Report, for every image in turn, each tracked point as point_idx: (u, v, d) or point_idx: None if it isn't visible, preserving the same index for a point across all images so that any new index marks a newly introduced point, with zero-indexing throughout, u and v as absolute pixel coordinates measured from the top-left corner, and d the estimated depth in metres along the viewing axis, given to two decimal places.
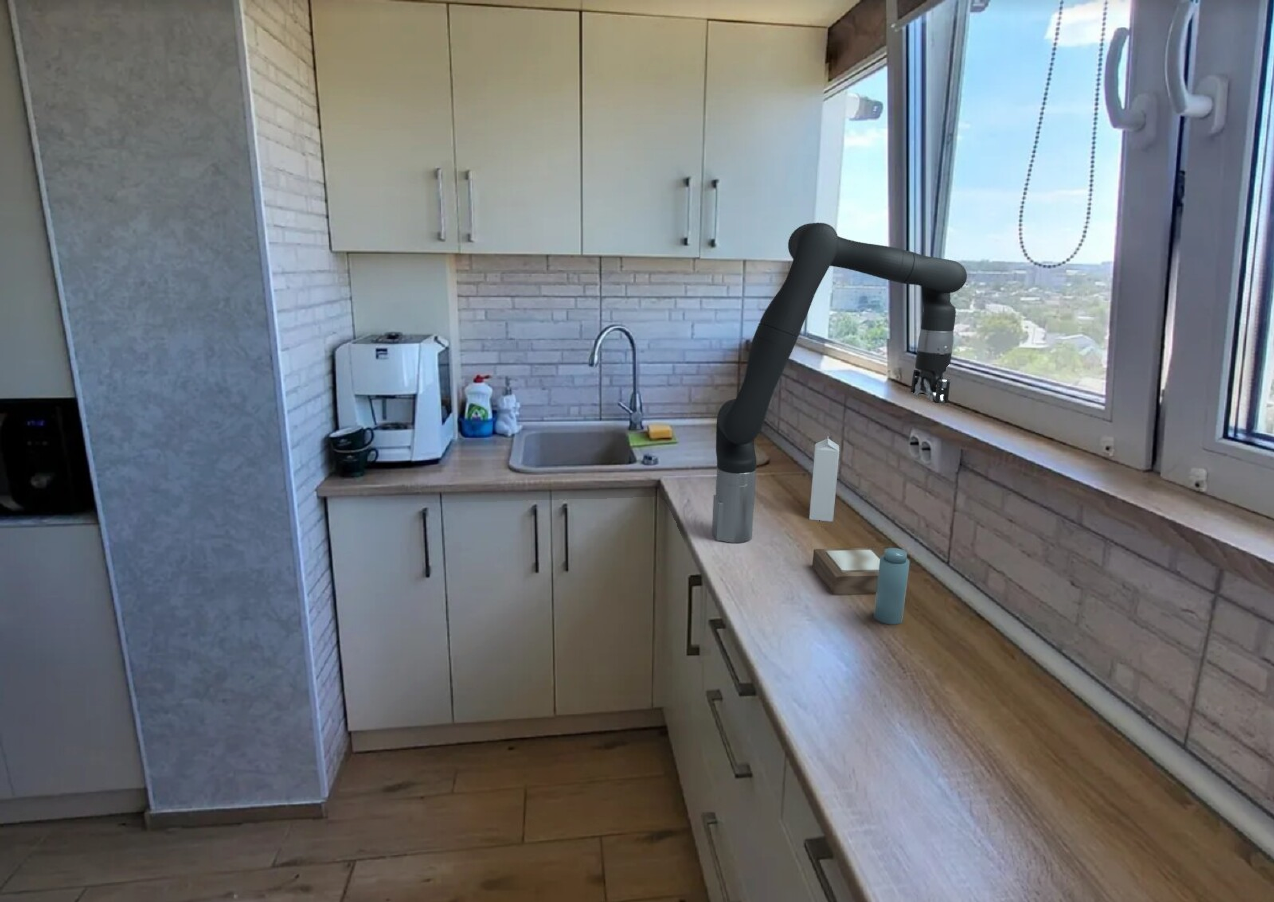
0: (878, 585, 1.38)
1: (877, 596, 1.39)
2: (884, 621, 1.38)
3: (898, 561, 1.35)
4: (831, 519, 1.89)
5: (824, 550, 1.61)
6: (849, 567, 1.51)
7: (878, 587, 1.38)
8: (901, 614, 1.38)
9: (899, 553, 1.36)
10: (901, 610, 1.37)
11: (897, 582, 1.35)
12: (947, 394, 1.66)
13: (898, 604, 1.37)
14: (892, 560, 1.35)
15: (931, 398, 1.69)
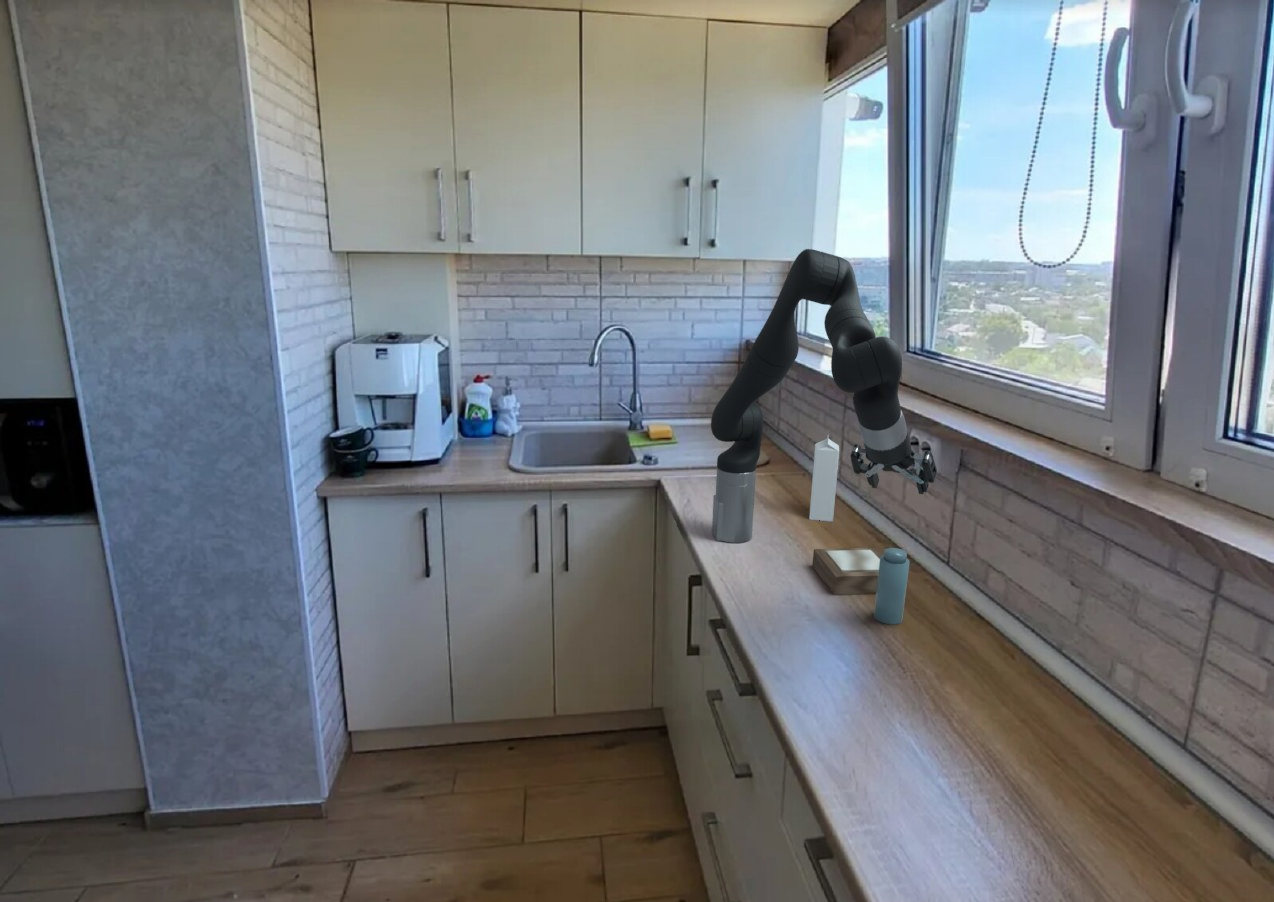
0: (878, 585, 1.38)
1: (877, 596, 1.39)
2: (884, 621, 1.38)
3: (898, 561, 1.35)
4: (831, 519, 1.89)
5: (824, 550, 1.61)
6: (849, 567, 1.51)
7: (878, 587, 1.38)
8: (901, 614, 1.38)
9: (899, 553, 1.36)
10: (901, 610, 1.37)
11: (897, 582, 1.35)
12: None
13: (898, 604, 1.37)
14: (892, 560, 1.35)
15: None
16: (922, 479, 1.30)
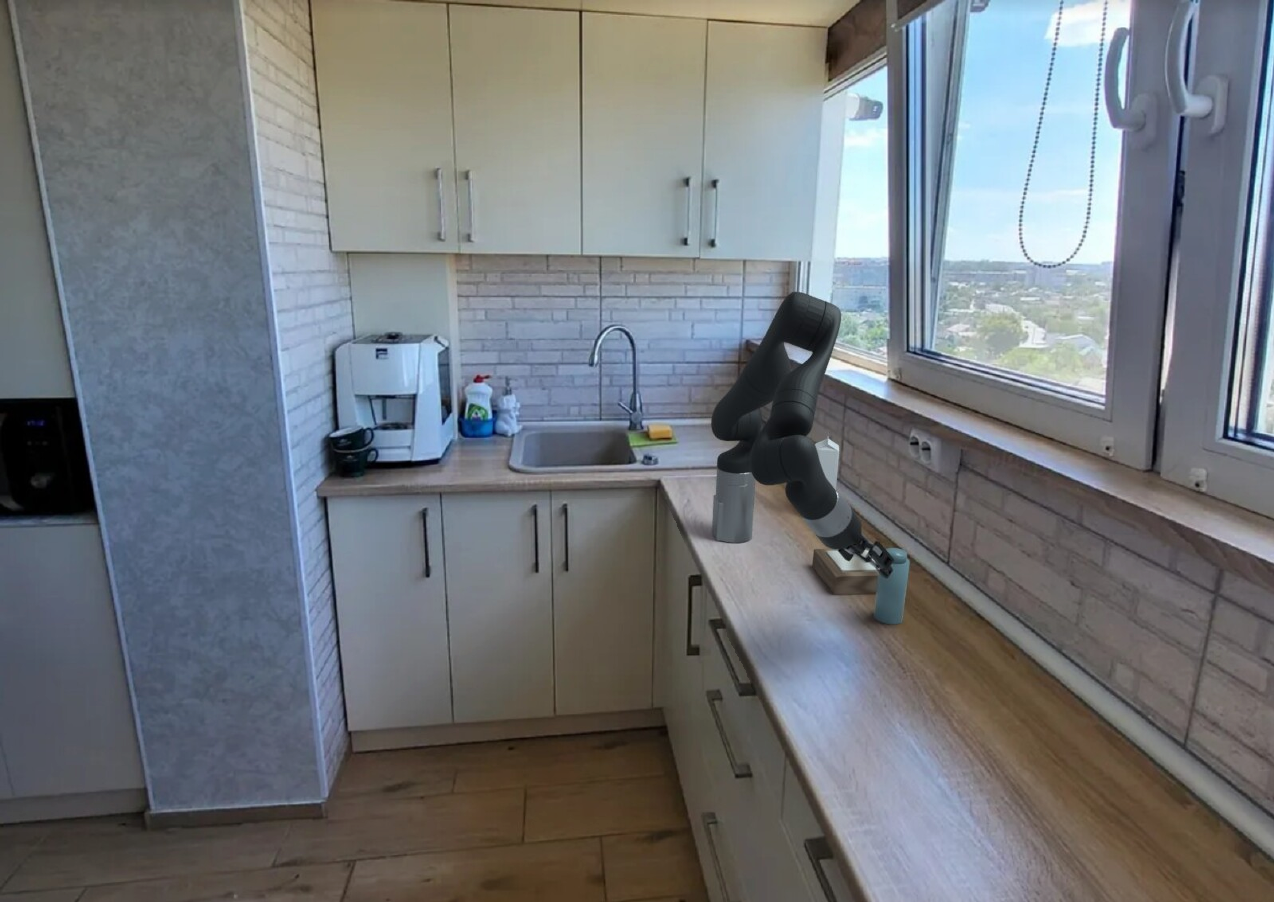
0: (878, 585, 1.38)
1: (877, 596, 1.39)
2: (884, 621, 1.38)
3: (898, 561, 1.35)
4: None
5: (824, 550, 1.61)
6: (849, 567, 1.51)
7: (878, 587, 1.38)
8: (901, 614, 1.38)
9: (899, 553, 1.36)
10: (901, 610, 1.37)
11: (897, 582, 1.35)
12: None
13: (898, 604, 1.37)
14: None
15: None
16: (878, 566, 1.26)
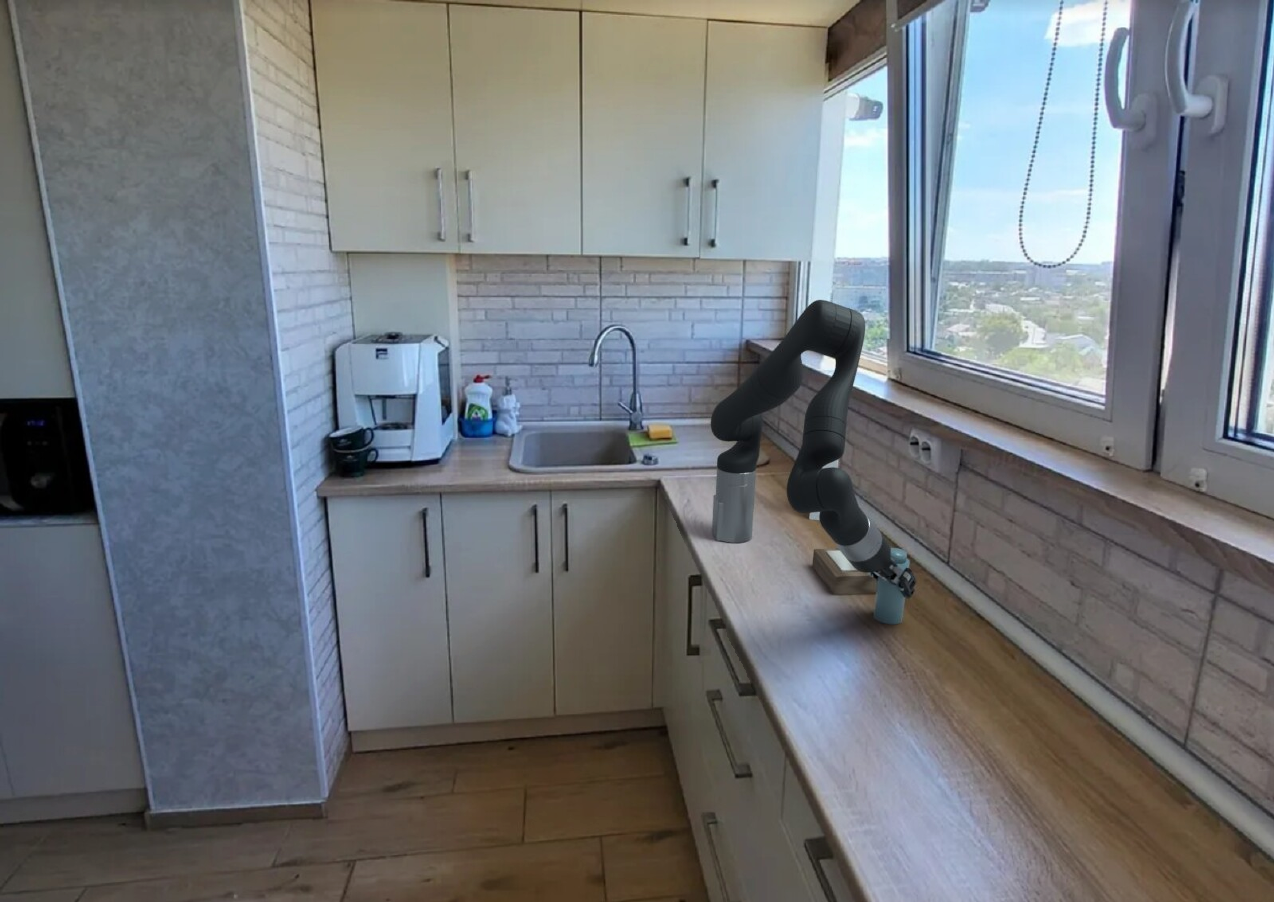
0: (878, 585, 1.38)
1: (877, 596, 1.39)
2: (884, 621, 1.38)
3: (898, 561, 1.35)
4: None
5: (824, 550, 1.61)
6: (849, 567, 1.51)
7: (878, 587, 1.38)
8: (901, 614, 1.38)
9: (899, 553, 1.36)
10: (901, 610, 1.37)
11: (897, 581, 1.35)
12: None
13: (898, 604, 1.37)
14: None
15: None
16: (901, 587, 1.34)
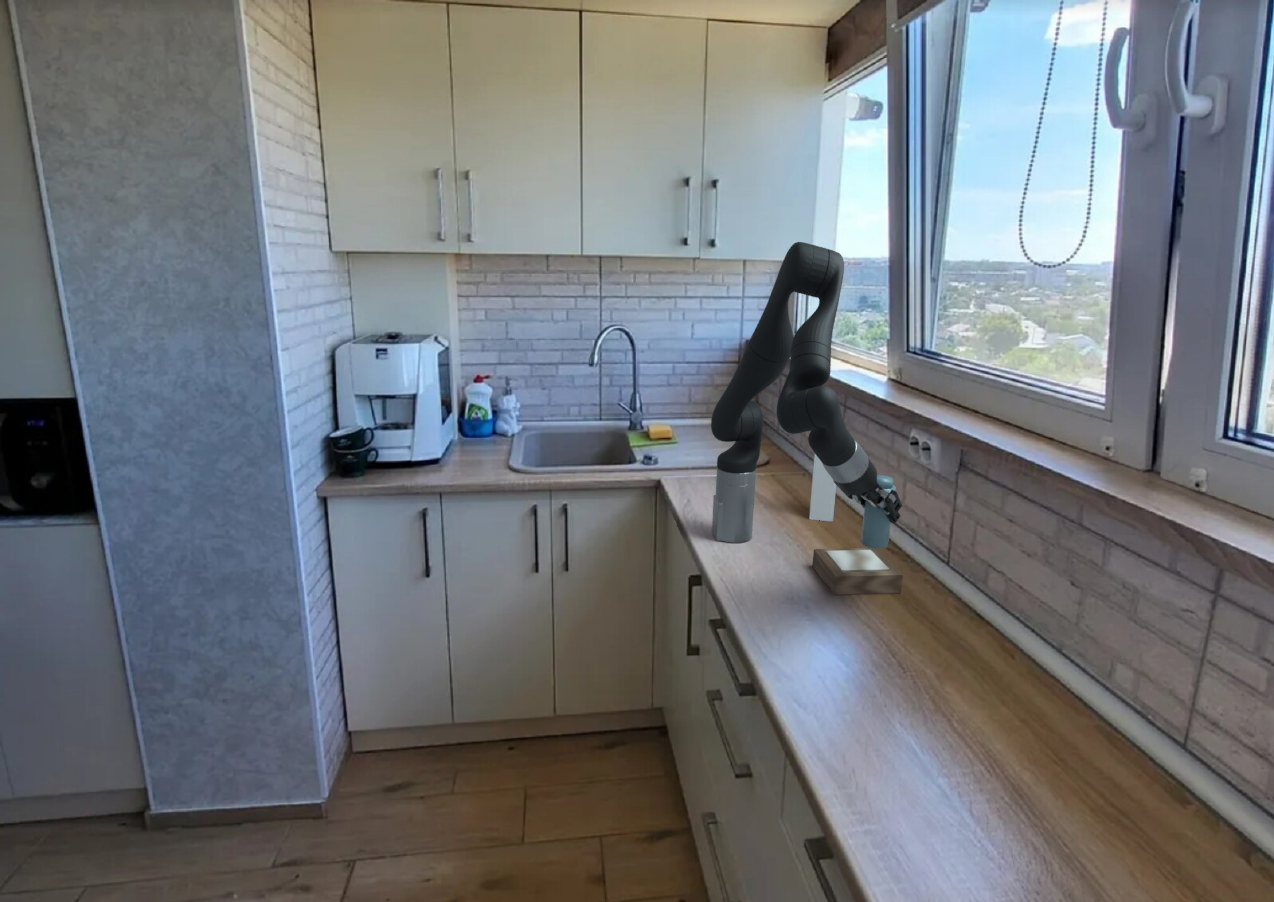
0: (865, 511, 1.43)
1: (864, 521, 1.44)
2: (870, 545, 1.43)
3: (884, 486, 1.40)
4: (831, 519, 1.89)
5: (824, 550, 1.61)
6: (849, 567, 1.51)
7: (865, 512, 1.43)
8: (887, 539, 1.43)
9: (886, 479, 1.41)
10: (887, 535, 1.43)
11: None
12: None
13: (884, 529, 1.42)
14: None
15: None
16: (887, 511, 1.39)
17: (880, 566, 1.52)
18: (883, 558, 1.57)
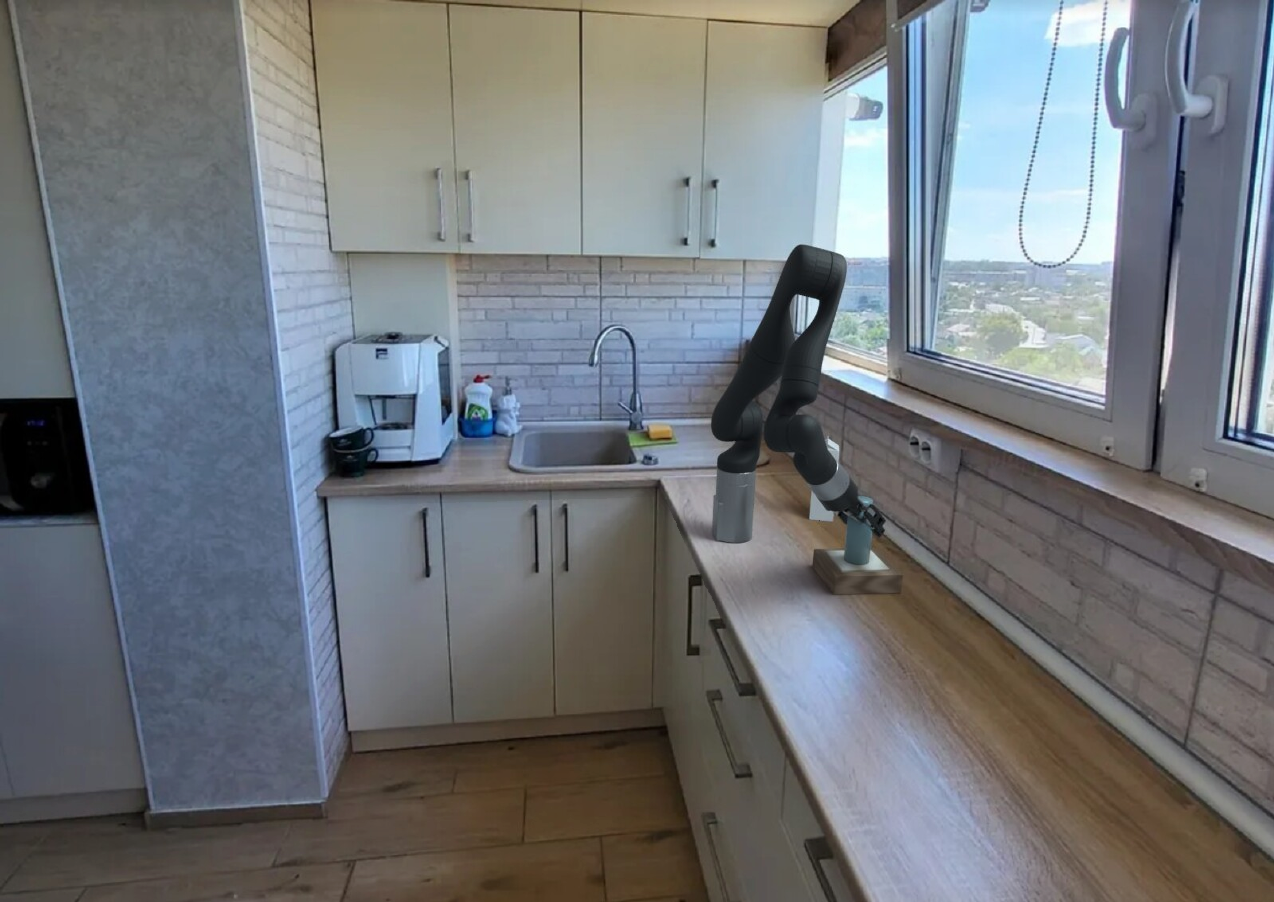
0: (847, 529, 1.53)
1: (846, 540, 1.54)
2: (852, 562, 1.53)
3: None
4: (831, 519, 1.89)
5: (824, 550, 1.61)
6: (849, 567, 1.51)
7: (847, 531, 1.53)
8: (868, 556, 1.53)
9: (866, 500, 1.51)
10: (868, 552, 1.52)
11: (863, 525, 1.50)
12: None
13: (865, 546, 1.52)
14: None
15: None
16: (872, 526, 1.47)
17: (880, 566, 1.52)
18: (883, 558, 1.57)
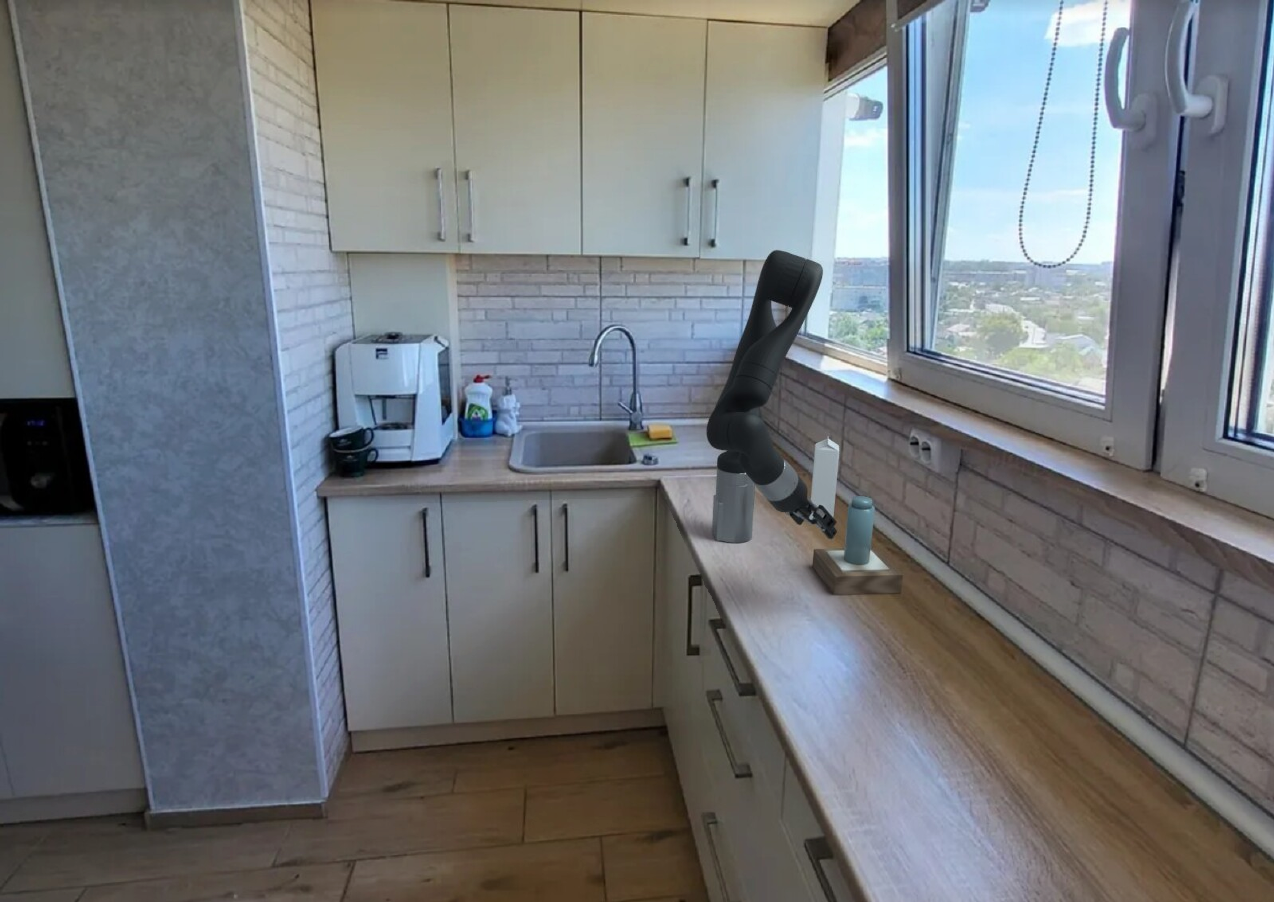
0: (847, 530, 1.53)
1: (846, 540, 1.54)
2: (852, 562, 1.53)
3: (864, 507, 1.50)
4: None
5: (824, 550, 1.61)
6: (849, 567, 1.51)
7: (847, 531, 1.53)
8: (868, 555, 1.53)
9: (865, 500, 1.51)
10: (867, 552, 1.52)
11: (863, 526, 1.50)
12: None
13: (865, 547, 1.52)
14: (858, 506, 1.50)
15: None
16: (822, 527, 1.41)
17: (880, 566, 1.52)
18: (883, 558, 1.57)
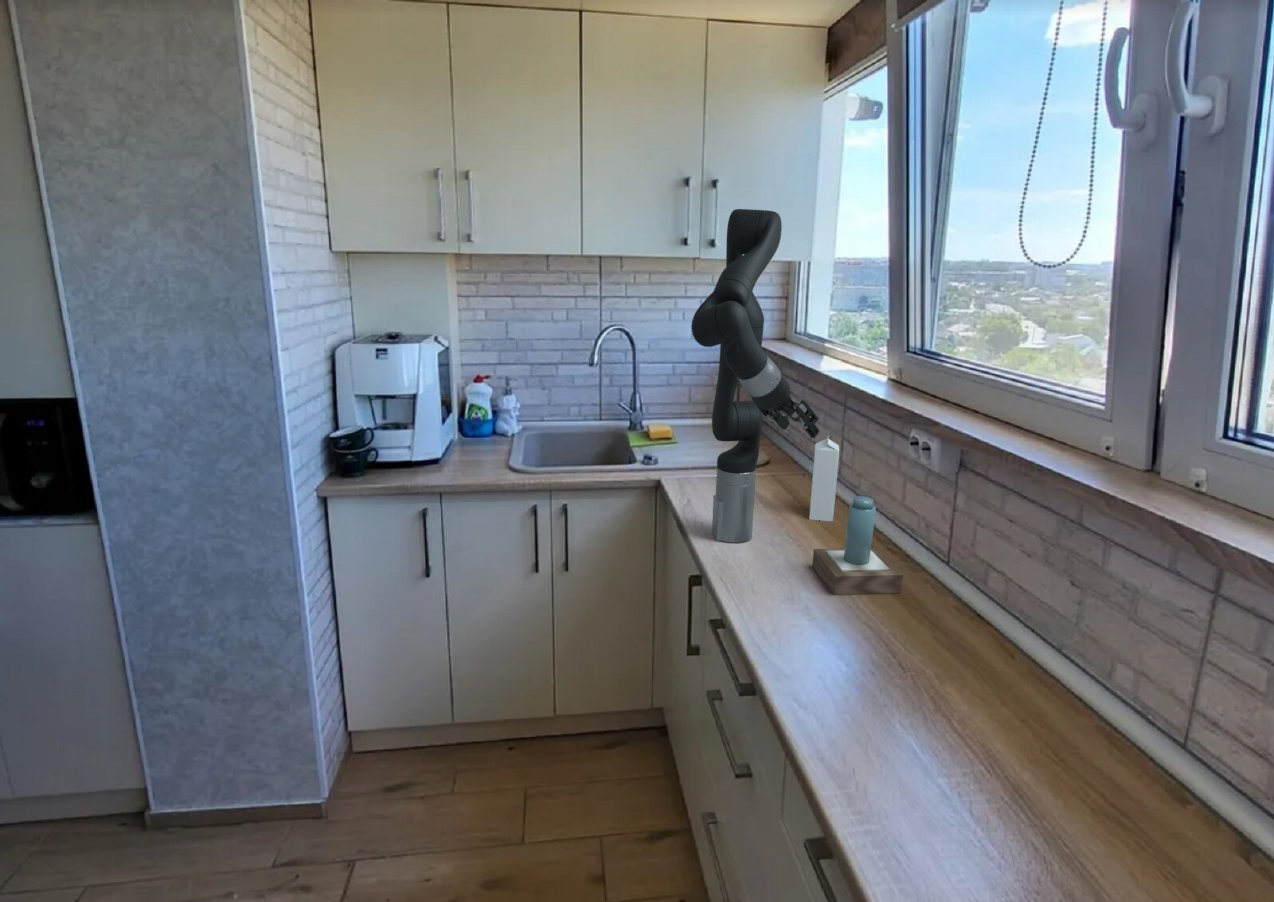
0: (847, 529, 1.53)
1: (846, 539, 1.54)
2: (852, 562, 1.53)
3: (865, 507, 1.49)
4: (831, 519, 1.89)
5: (824, 550, 1.61)
6: (849, 567, 1.51)
7: (847, 531, 1.53)
8: (867, 556, 1.53)
9: (866, 501, 1.50)
10: (867, 552, 1.52)
11: (863, 526, 1.50)
12: None
13: (865, 547, 1.52)
14: (859, 506, 1.50)
15: None
16: (805, 425, 1.47)
17: (880, 566, 1.52)
18: (883, 558, 1.57)
